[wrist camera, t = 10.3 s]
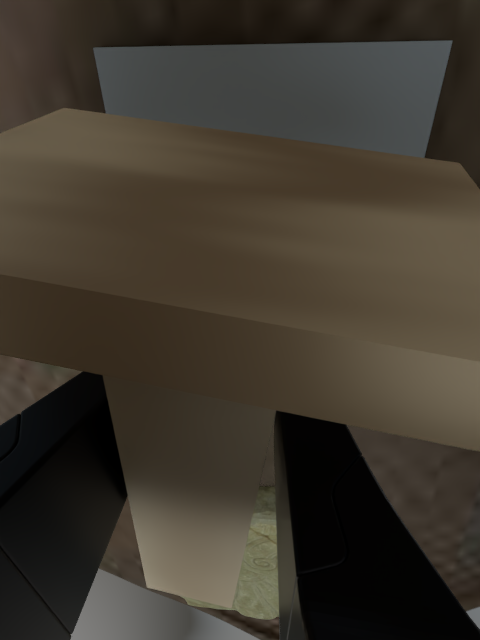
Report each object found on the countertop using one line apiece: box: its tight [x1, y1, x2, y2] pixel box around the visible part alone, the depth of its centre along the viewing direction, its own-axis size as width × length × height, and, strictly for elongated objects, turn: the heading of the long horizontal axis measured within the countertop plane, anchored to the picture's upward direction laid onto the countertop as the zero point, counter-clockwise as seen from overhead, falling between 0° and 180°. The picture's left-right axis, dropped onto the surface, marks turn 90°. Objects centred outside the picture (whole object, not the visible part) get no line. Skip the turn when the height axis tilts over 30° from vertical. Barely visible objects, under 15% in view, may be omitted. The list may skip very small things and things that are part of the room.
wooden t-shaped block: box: [0, 108, 480, 608], centre depth 8 cm, size 7×11×5 cm, turn 175°
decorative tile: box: [181, 486, 279, 619], centre depth 37 cm, size 19×20×4 cm
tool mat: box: [93, 40, 452, 158], centre depth 19 cm, size 13×15×1 cm
